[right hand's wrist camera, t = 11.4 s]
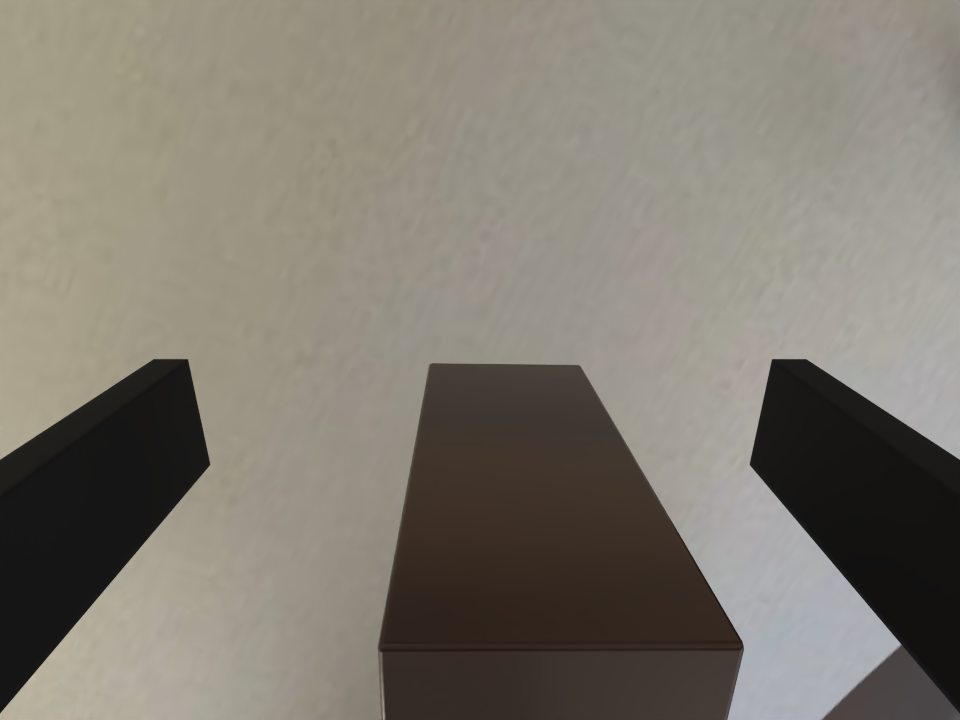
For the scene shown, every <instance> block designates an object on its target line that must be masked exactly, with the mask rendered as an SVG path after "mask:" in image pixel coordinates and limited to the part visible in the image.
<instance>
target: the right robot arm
mask: <svg viewBox="0 0 960 720" xmlns="http://www.w3.org/2000/svg"><path fill="white" fill-rule="evenodd" d="M209 466H210V461H209V456H208V452H207V447H206V442H205V437H204V433H203V428H202V423H201V419H200V414H199V409H198V405H197V400H196V395H195V390H194V386H193V381H192V376H191V372H190V367H189V362H188V359H153V360H152V361H150V362H149V363H147V364H146V365H144V366H143V367H141V368H140V369H138V370H137V371H135V372H134V373H132V374H131V375H129V376H128V377H126V378H124V379H123V380H121V381H120V382H118V383H117V384H115V385H114V386H112V387H111V388H109V389H108V390H106V391H105V392H103V393H102V394H100V395H98V396H97V397H95V398H94V399H92V400H91V401H89V402H88V403H86V404H85V405H83V406H82V407H80V408H79V409H77V410H76V411H74V412H73V413H71V414H69V415H68V416H66V417H65V418H63V419H62V420H60V421H59V422H57V423H56V424H54V425H53V426H51V427H50V428H48V429H47V430H45V431H44V432H42V433H40V434H39V435H37V436H36V437H34V438H33V439H31V440H30V441H28V442H27V443H25V444H24V445H22V446H21V447H19V448H18V449H16V450H14V451H13V452H11V453H10V454H8V455H7V456H5V457H4V458H2V459H1V460H0V713H1V712H2V711H3V709H4V708H5V707H6V706H7V705H8V703H9V702H10V701H11V700H12V699H13V698H14V696H15V695H16V694H17V693H18V692H19V690H20V689H21V688H22V687H23V686H24V685H25V683H26V682H27V681H28V680H29V679H30V677H31V676H32V675H33V674H34V673H35V672H36V670H37V669H38V668H39V667H40V666H41V664H42V663H43V662H44V661H45V660H46V659H47V657H48V656H49V655H50V654H51V653H52V651H53V650H54V649H55V648H56V647H57V646H58V644H59V643H60V642H61V641H62V640H63V638H64V637H65V636H66V635H67V634H68V632H69V631H70V630H71V629H72V628H73V627H74V625H75V624H76V623H77V622H78V621H79V619H80V618H81V617H82V616H83V615H84V614H85V612H86V611H87V610H88V609H89V608H90V606H91V605H92V604H93V603H94V602H95V601H96V599H97V598H98V597H99V596H100V595H101V593H102V592H103V591H104V590H105V589H106V588H107V586H108V585H109V584H110V583H111V582H112V580H113V579H114V578H115V577H116V576H117V575H118V573H119V572H120V571H121V570H122V569H123V567H124V566H125V565H126V564H127V563H128V562H129V560H130V559H131V558H132V557H133V556H134V554H135V553H136V552H137V551H138V550H139V548H140V547H141V546H142V545H143V544H144V543H145V541H146V540H147V539H148V538H149V537H150V535H151V534H152V533H153V532H154V531H155V530H156V528H157V527H158V526H159V525H160V524H161V522H162V521H163V520H164V519H165V518H166V517H167V515H168V514H169V513H170V512H171V511H172V509H173V508H174V507H175V506H176V505H177V504H178V502H179V501H180V500H181V499H182V498H183V496H184V495H185V494H186V493H187V492H188V491H189V489H190V488H191V487H192V486H193V485H194V483H195V482H196V481H197V480H198V479H199V478H200V476H201V475H202V474H203V473H204V472H205V470H206V469H207V468H208V467H209ZM750 466H751V467H752V468H753V469H754V470H755V472H756V473H757V474H758V475H759V476H760V478H761V479H762V480H763V481H764V482H765V483H766V485H767V486H768V487H769V488H770V489H771V491H772V492H773V493H774V494H775V495H776V496H777V498H778V499H779V500H780V501H781V502H782V504H783V505H784V506H785V507H786V508H787V509H788V511H789V512H790V513H791V514H792V515H793V517H794V518H795V519H796V520H797V521H798V522H799V524H800V525H801V526H802V527H803V528H804V530H805V531H806V532H807V533H808V534H809V535H810V537H811V538H812V539H813V540H814V541H815V543H816V544H817V545H818V546H819V547H820V548H821V550H822V551H823V552H824V553H825V554H826V556H827V557H828V558H829V559H830V560H831V562H832V563H833V564H834V565H835V566H836V567H837V569H838V570H839V571H840V572H841V573H842V575H843V576H844V577H845V578H846V579H847V580H848V582H849V583H850V584H851V585H852V586H853V588H854V589H855V590H856V591H857V592H858V593H859V595H860V596H861V597H862V598H863V599H864V601H865V602H866V603H867V604H868V605H869V606H870V608H871V609H872V610H873V611H874V612H875V614H876V615H877V616H878V617H879V618H880V619H881V621H882V622H883V623H884V624H885V625H886V627H887V628H888V629H889V630H890V631H891V632H892V634H893V635H894V636H895V637H896V638H897V640H898V641H899V642H900V643H901V644H902V645H903V647H904V648H905V649H906V650H907V651H908V653H909V654H910V655H911V656H912V657H913V658H914V660H915V661H916V662H917V663H918V664H919V666H920V667H921V668H922V669H923V670H924V672H925V673H926V674H927V675H928V676H929V677H930V679H931V680H932V681H933V682H934V683H935V685H936V686H937V687H938V688H939V689H940V690H941V692H942V693H943V694H944V695H945V696H946V698H947V699H948V700H949V701H950V702H951V703H952V705H953V706H954V707H955V708H956V709H957V711H958V712H959V713H960V460H959V459H958V458H956V457H955V456H953V455H952V454H950V453H949V452H947V451H946V450H944V449H942V448H941V447H939V446H938V445H936V444H935V443H933V442H932V441H930V440H929V439H927V438H926V437H924V436H923V435H921V434H920V433H918V432H916V431H915V430H913V429H912V428H910V427H909V426H907V425H906V424H904V423H903V422H901V421H900V420H898V419H897V418H895V417H894V416H892V415H891V414H889V413H887V412H886V411H884V410H883V409H881V408H880V407H878V406H877V405H875V404H874V403H872V402H871V401H869V400H868V399H866V398H865V397H863V396H862V395H860V394H858V393H857V392H855V391H854V390H852V389H851V388H849V387H848V386H846V385H845V384H843V383H842V382H840V381H839V380H837V379H836V378H834V377H832V376H831V375H829V374H828V373H826V372H825V371H823V370H822V369H820V368H819V367H817V366H816V365H814V364H813V363H811V362H810V361H808V360H807V359H772V362H771V367H770V372H769V376H768V381H767V386H766V390H765V395H764V400H763V405H762V409H761V414H760V419H759V423H758V428H757V433H756V437H755V442H754V447H753V452H752V456H751V461H750Z"/></svg>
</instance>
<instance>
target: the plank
mask: <svg viewBox="0 0 960 720" xmlns="http://www.w3.org/2000/svg"><path fill="white" fill-rule="evenodd" d="M743 651H744V647H743V643H742V640H741V639H740V637H739V635H738V634H737V632H736V630H735V628H734V627H733V625H732V623H731V622H730V620H729V618H728V617H727V615H726V613H725V611H724V610H723V608H722V606H721V605H720V603H719V601H718V599H717V598H716V596H715V594H714V593H713V591H712V589H711V588H710V586H709V584H708V582H707V581H706V579H705V577H704V576H703V574H702V572H701V571H700V569H699V567H698V565H697V564H696V562H695V560H694V559H693V557H692V555H691V554H690V552H689V550H688V548H687V547H686V545H685V543H684V542H683V540H682V538H681V537H680V535H679V533H678V531H677V530H676V528H675V526H674V525H673V523H672V521H671V519H670V518H669V516H668V514H667V513H666V511H665V509H664V508H663V506H662V504H661V502H660V501H659V499H658V497H657V496H656V494H655V492H654V491H653V489H652V487H651V485H650V484H649V482H648V480H647V479H646V477H645V475H644V474H643V472H642V470H641V468H640V467H639V465H638V463H637V462H636V460H635V458H634V456H633V455H632V453H631V451H630V450H629V448H628V446H627V445H626V443H625V441H624V439H623V438H622V436H621V434H620V433H619V431H618V429H617V428H616V426H615V424H614V422H613V421H612V419H611V417H610V416H609V414H608V412H607V411H606V409H605V407H604V405H603V404H602V402H601V400H600V399H599V397H598V395H597V393H596V392H595V390H594V388H593V387H592V385H591V383H590V382H589V380H588V378H587V376H586V375H585V373H584V371H583V370H582V368H581V366H579V365H521V364H436V363H432V364H430V365H429V369H428V375H427V380H426V386H425V391H424V397H423V402H422V408H421V413H420V419H419V424H418V430H417V435H416V441H415V446H414V452H413V457H412V463H411V468H410V474H409V479H408V485H407V490H406V495H405V501H404V506H403V512H402V517H401V523H400V528H399V534H398V539H397V545H396V550H395V556H394V561H393V567H392V572H391V578H390V583H389V589H388V594H387V600H386V605H385V611H384V616H383V621H382V627H381V632H380V638H379V643H378V661H379V680H380V699H381V718H382V720H727V718H728V714H729V710H730V706H731V701H732V697H733V693H734V689H735V685H736V680H737V676H738V672H739V668H740V664H741V659H742V655H743Z"/></svg>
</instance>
